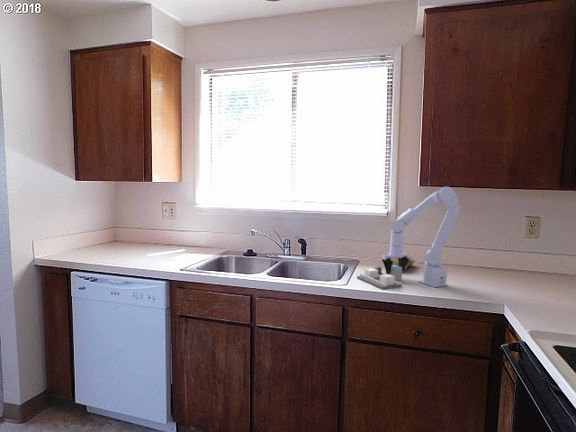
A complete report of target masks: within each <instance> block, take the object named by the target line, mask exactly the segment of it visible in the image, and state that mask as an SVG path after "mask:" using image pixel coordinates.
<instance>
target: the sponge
mask: <svg viewBox="0 0 576 432" xmlns="http://www.w3.org/2000/svg"><path fill="white" fill-rule="evenodd" d="M408 259H409V261H408V263H407V264H406V266H405V269H404V271H406V270H407V268H408V267H409V266H412V265H414V263H415V259H414V258H412V256H410V255H409V258H408ZM390 260H391V261H393V264H392V265H397V266H399V262H398V258H396V259H390Z"/></svg>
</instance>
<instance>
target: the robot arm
mask: <svg viewBox="0 0 576 432" xmlns="http://www.w3.org/2000/svg"><path fill="white" fill-rule="evenodd" d="M441 201H442V202H443V203H444V205H445V207H446V209H447V210H446V213H445V216H444V217H443V219H442V223H441V224H440V227H439V228H438V231H437V234H436V236H435V238H434V241H433V243H432V245H431V247H430V248H429V249H427V250H426V253H425V254H426V255H425V261H424V264H423V278H422V279H419V280H418V282H419V283H421V284H424V285H427V286H430V287H433V288H438V287H439V288H440V287H446V286H448V284H447V277H448V275H447V274H448V271H447V269H446V268H445V267H444V266H443V264H442V262H441V261H442V253H443V250H444V247H445V245H446V243H447V240H448V237H449V235H450V233H451V231H452V229H453V227H454V224H455V222H456V220H457V217H458V215H459V213H460V210H461V207H460V203H459V198H458V195H457V194H456V191H454V189H453V188H452V187H450V186H443V187H441V188H440V189H439V190H436V191H434V192H433V193H431V194H430V195H429V196H428V197H426V198H425V199H424V200H422V202H420V203H419V204H418V205H417V206H416V207H414V208H412V207H409V208H406V209H404V212H403V213H401V215H398V216H397V217H396V219H394V220H393V221H392V222H391V224H390V229H391V231H390V242H389V252H388V253H386V254H382V256H381V261H382V263H383V265H384V269H385V274H389V275H390V274H391V267H392V264H393V261H391V260H390V259H396V258H398V262H399V266H400V267H402V274H404V271H405V270H406V269H405V266H406V264H407V263H408V261H409V259H408V258H409V256H410V253H408V252H403V246H404V229H405V227H408V226H409V225H411V224H412V223H413V222H415V221H416V220H418V219H419V214H420V213H422V212H423V211H424V210H426V209H427V208H429V207H430V206H432V204H435V203H440V202H441ZM404 269H405V270H404Z"/></svg>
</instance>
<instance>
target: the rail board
mask: <svg viewBox="0 0 576 432" xmlns="http://www.w3.org/2000/svg"><path fill="white" fill-rule="evenodd" d="M356 279H358V280H359V281H362V282H364V283H367V284H369V285H371V286H373V287H375V288H378V289H380V290H387V289H394V288H402V287H403V283H400V282H399V281H394V276H392V275H389V274H386V273H385V274H378V270H376V269H374V268H370V267H369V268H365V269H364V274H363V273H359V275H357V276H356Z"/></svg>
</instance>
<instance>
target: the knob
mask: <svg viewBox="0 0 576 432" xmlns="http://www.w3.org/2000/svg"><path fill="white" fill-rule="evenodd" d="M373 269H376V270H378V274H379V275H383V274H382V273H383V272H382V271H383V267H381V266H374V268H373Z"/></svg>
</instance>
